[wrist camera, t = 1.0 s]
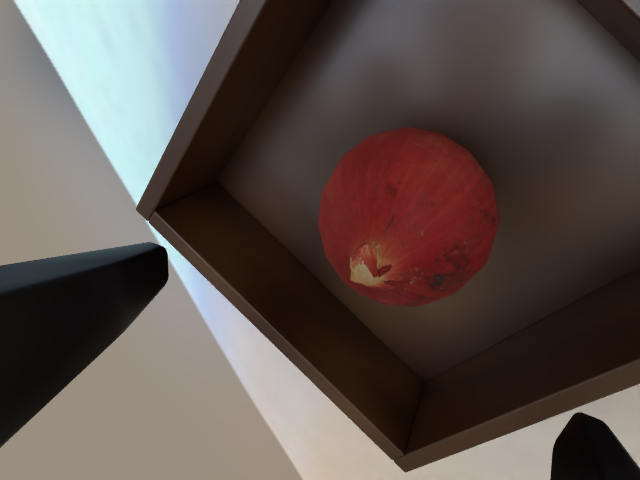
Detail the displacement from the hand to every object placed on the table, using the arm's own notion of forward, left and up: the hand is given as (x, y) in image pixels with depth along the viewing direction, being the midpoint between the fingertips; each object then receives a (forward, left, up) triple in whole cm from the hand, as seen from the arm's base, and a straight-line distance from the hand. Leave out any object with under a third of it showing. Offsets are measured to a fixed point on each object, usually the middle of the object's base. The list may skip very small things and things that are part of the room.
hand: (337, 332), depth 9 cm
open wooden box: (0, 0, -11) cm, 11 cm away
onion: (0, 0, -10) cm, 10 cm away
